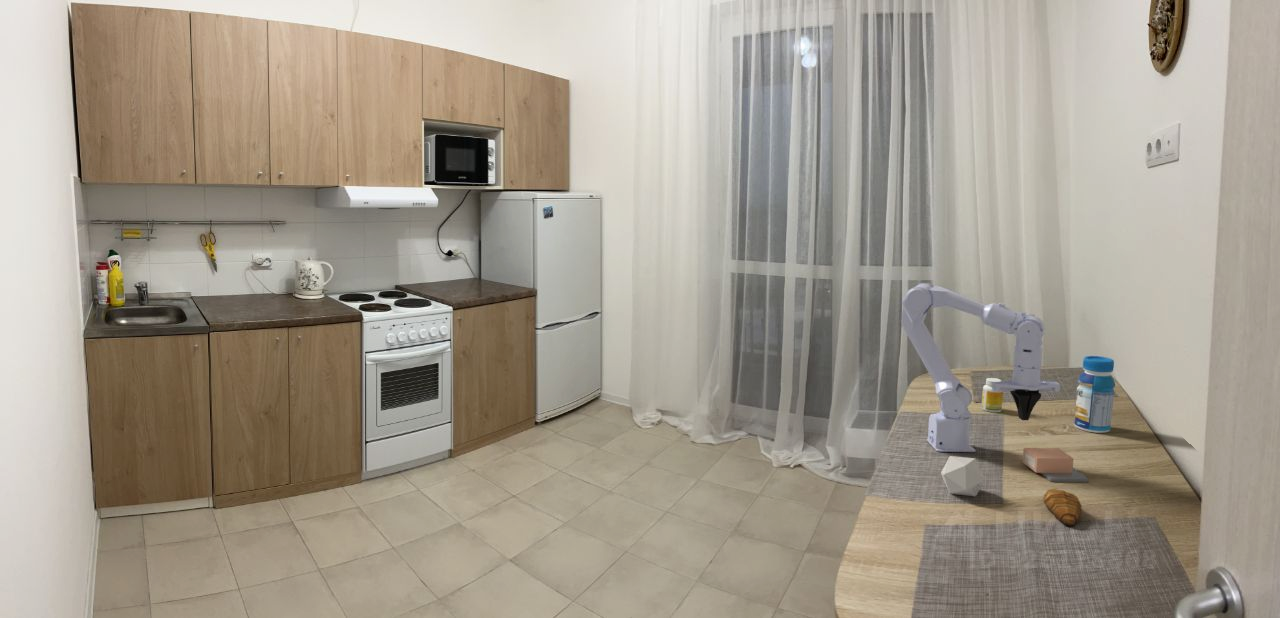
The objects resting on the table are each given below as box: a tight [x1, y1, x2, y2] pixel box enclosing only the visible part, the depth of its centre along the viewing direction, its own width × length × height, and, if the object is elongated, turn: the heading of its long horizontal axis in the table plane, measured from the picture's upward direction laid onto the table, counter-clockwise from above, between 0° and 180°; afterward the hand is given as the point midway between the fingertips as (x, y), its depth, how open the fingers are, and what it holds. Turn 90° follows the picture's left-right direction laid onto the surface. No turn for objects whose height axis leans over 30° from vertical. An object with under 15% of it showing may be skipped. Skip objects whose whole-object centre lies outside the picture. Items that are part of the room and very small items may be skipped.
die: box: [940, 455, 986, 497], centre depth 137 cm, size 8×9×10 cm
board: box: [1040, 467, 1089, 483], centre depth 146 cm, size 8×12×1 cm, turn 174°
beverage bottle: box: [1073, 355, 1116, 434], centre depth 169 cm, size 8×8×20 cm
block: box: [1022, 447, 1075, 474], centre depth 146 cm, size 4×6×8 cm
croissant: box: [1042, 488, 1082, 527], centre depth 127 cm, size 14×7×5 cm, turn 159°
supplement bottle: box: [981, 377, 1004, 413], centre depth 187 cm, size 5×5×10 cm
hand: (1023, 419), depth 151 cm, fingers closed
